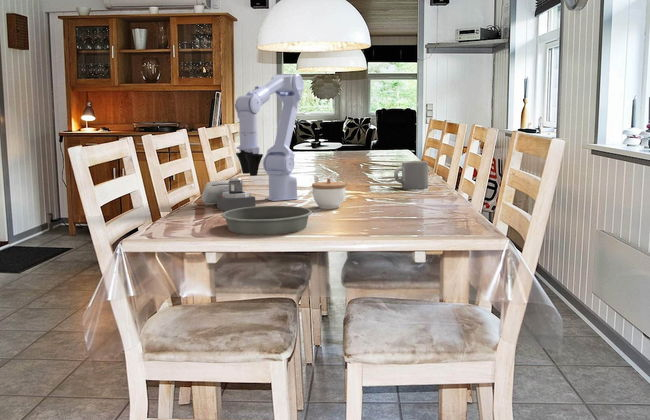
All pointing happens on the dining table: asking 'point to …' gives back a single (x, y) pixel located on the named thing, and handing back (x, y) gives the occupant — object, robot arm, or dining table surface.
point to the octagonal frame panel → (235, 201)
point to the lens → (235, 186)
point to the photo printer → (214, 191)
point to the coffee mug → (413, 174)
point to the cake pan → (267, 219)
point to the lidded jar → (329, 194)
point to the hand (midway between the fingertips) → (249, 174)
